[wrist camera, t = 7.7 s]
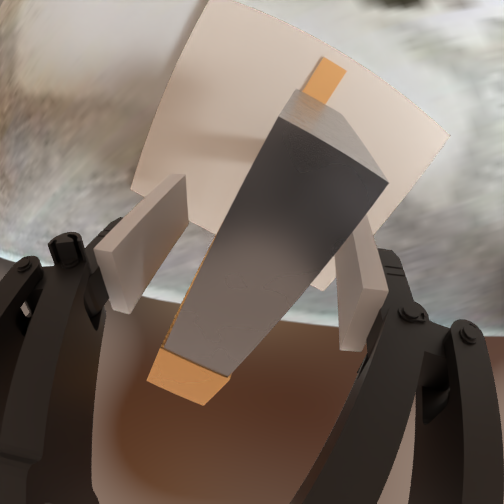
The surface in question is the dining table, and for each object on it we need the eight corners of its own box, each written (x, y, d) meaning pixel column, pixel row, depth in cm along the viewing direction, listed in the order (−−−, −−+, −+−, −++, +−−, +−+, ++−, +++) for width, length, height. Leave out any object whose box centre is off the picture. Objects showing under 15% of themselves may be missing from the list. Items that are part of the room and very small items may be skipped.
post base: (445, 132, 18) (497, 166, 12) (322, 284, 29) (322, 350, 22) (216, -4, 16) (172, -32, 9) (135, 185, 26) (85, 229, 20)
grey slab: (294, 87, 12) (272, 114, 5) (343, 115, 13) (393, 186, 5) (206, 255, 19) (146, 380, 11) (244, 274, 19) (203, 405, 12)
